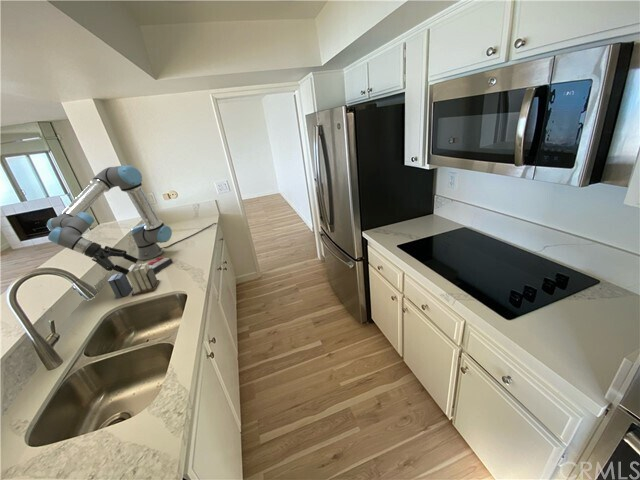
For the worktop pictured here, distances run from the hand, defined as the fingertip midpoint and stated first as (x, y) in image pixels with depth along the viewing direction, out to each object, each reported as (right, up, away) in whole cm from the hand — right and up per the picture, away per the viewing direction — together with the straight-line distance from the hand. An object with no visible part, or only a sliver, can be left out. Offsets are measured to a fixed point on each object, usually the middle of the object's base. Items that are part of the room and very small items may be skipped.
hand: (132, 266), depth 143 cm
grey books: (-7, -15, +4) cm, 17 cm away
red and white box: (-4, -4, +29) cm, 30 cm away
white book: (+1, -12, +5) cm, 13 cm away
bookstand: (+3, -13, +6) cm, 15 cm away
